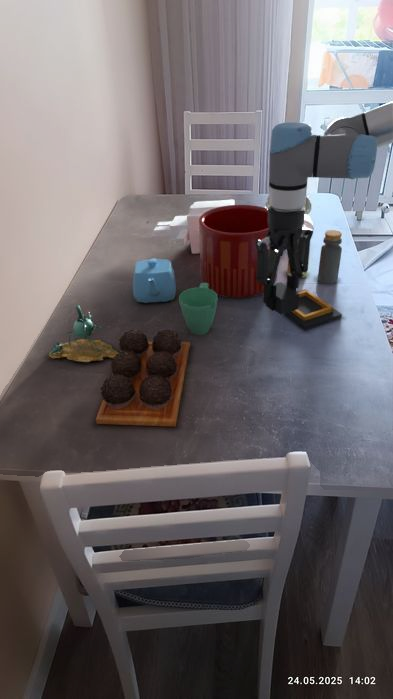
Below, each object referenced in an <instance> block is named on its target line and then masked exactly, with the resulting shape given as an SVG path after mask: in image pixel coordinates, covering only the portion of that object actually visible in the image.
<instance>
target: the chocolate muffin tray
mask: <svg viewBox="0 0 393 699" xmlns="http://www.w3.org/2000/svg"><path fill="white" fill-rule="evenodd" d="M118 341H119V343H117V345H119V346H118V347H119V353H118V354H116V356H114V358H112V360H111V362H110V373H111V376H109V377H108V378H107V377H106V378H105V380H104V381H103V384H102V386H101V387H100V391H101V392H100V394H101V400H102V401H101V403H100V407H99V409H98V413H97V415H96V418H95V423H96V425H117V426H118V425H119V426H121V425H122V426H146V427H147V426H149V427H150V426H151V427H175V428H176V426H177V421H178V416H179V410H180V405H181V399H182V392H183V387H184V383H185V382H184V381H185V376H186V370H187V365H188V364H187V363H188V358H189V353H190V352H189V351H190V346H191V344H190V341H182V340H181V338H180V336H179V334H178V333H177V332H175V331H174V330H172V329H168V328H166V329H163V330H160V331H159V330H158V331H157V332H156V333H155V334H154V335H153V339H152V341H149V339H148V337H147V335H146V334H145V333H144V332H143V331H141V330H139V329H134V328H131V329H129V330H127V331H124V333H122V334H121V336H120V338H119V339H118Z"/></svg>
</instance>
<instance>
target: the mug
mask: <svg viewBox="0 0 393 699" xmlns="http://www.w3.org/2000/svg"><path fill="white" fill-rule="evenodd" d="M218 296H219V295H217V294H216V292H215V291H213V290H211V289H210V287H209V284H207V283H202V282H201V283H200V284H199V287H191V288H188V289H186V290H185V289H184V290H183V291H182V292H181V293H180V294H179V295H178V303H179V306H180V309H181V313H182V315H183V318H184V321H185V323H186V325H187V327H188V329H189V331H190V333H192V334H193V335H196V336H202V335H205V334H207V333H208V332H209V331H210V329H211V326H212V323H213V321H214V318H215V316H216V315H215V314H216V311H217V305H218V301H219V299H218Z"/></svg>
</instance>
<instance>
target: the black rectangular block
mask: <svg viewBox="0 0 393 699" xmlns="http://www.w3.org/2000/svg"><path fill="white" fill-rule="evenodd" d="M275 284H276V285H277V287H276V301H275V310H274V312H275V313H277V314H278V315H279V316H283V315H285V314H286V313H288V312H291V311H294V310H297V309H298V307H299V295H300V294H299V293H297V292H298V291H297V290H296V291H294V290H293V289H291V288H290V287H288V286H287V284H285V283H284V282H282V281H278V282H276V283H275ZM262 295H263V296H262V303H264V304H265V305H266V296H264V291H263V294H262Z"/></svg>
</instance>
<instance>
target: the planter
mask: <svg viewBox="0 0 393 699" xmlns="http://www.w3.org/2000/svg"><path fill="white" fill-rule="evenodd" d="M267 220H268V209H267V208H265V206H264V207H263V206H259V205H252V204H234V205H228V206H222V207H217V208H214V209H211V210H209V211H207V212H205V213H203V214H202V215H201V216H200V218H199V246H200V253H199V267H200V270H199V271H200V282H201V283H207V284H209V287H210V289H211V290H213V291H215V292H216V294H217V295H218V296H220V297H224V298H228V299H247V298H253V297H256V296H260V295H261V296H262V295H263V291H264V285H262V284H261V283H259V282H258V281H257V280H256V275H257V247H256V244H255V242H256V240H260V241H261V240H263V239H264V238H266V236H267V233H268V230H269V227H268V223H267ZM269 248H270V243H269ZM268 253H269V254H270V252H269V249H268ZM268 258H269V256H268ZM277 279H278V272H277V273H276V276H275V280H274V283H275V284H276V283H277Z"/></svg>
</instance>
